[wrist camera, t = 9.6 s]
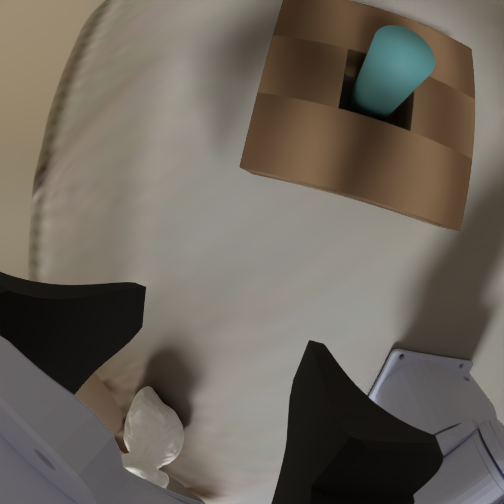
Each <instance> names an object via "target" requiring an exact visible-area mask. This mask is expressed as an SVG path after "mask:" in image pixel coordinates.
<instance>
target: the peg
mask: <svg viewBox="0 0 504 504" xmlns="http://www.w3.org/2000/svg"><path fill="white" fill-rule="evenodd" d="M434 67H435V58H434V54H433V52H432V50H431V48H430V46H429V45H428V44H427V43H426V41H425V40H424V39H423V38H422V37H420V36H419V35H418V34H417V33H415V32H413V31H412V30H410V29H408V28H405V27H402V26H397V25H388V26H384V27H382V28H380V29H379V30H377V32H376V33H375V35H374V38H373V41H372V43H371V46H370V48H369V51H368V53H367V56H366V58H365V61H364V63H363V65H362V68H361V70H360V73H359V75H358V78H357V80H356V82H355V85H354V87H353V90H352V92H351V94H350V97H349V99H348V111H350V112H354V113H357V114H361V115H364V116H367V117H371V118H374V119H377V120H380V121H384V120H385V119H386V118H387V117H388V116H389V115H390V114H391V113H392V112H393V111H394V110H395V109H396V108H397V107H398V106H399V105H400V104H401V103H402V102H403V101H404V100H405V99H406V98H407V97H408V96H409V95H410V94H411V93H412V92H413V91H414V90H415V89H416V88H417V87H418V86H419V85H420V84H421V83H422V82H423V81H424V80H425V79H426V78H427V77H428V76H429V75H430V74H431V73H432V72H433V70H434Z"/></svg>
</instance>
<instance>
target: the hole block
mask: <svg viewBox="0 0 504 504" xmlns="http://www.w3.org/2000/svg"><path fill="white" fill-rule="evenodd" d="M388 25H397V26H402V27H405V28H408V29H410V30H412V31H413V32H415V33H417V34H418V35H419V36H420V37H422V38H423V39H424V40H425V41H426V43H427V44H428V45H429V46H430V48H431V50H432V52H433V54H434V58H435V67H434V70H433V72H432V73H431V74H430V75H429V76H428V77H427V78H426V79H425V80H424V81H423V82H422V83H421V84H420V85H419V86H418V87H417V88H416V89H415V90H414V91H413V92H412V93H411V94H410V95H409V96H408V97H407V98H406V99H405V100H404V101H403V102H402V103H401V104H400V105H399V106H398V107H397V110H396V118H395V125H392V124H389V123H386V122H383V121H380V120H377V119H374V118H371V117H367V116H364V115H361V114H357V113H354V112H350V111H347V110H343V109H339V108H338V107H339V101H340V96H341V90H342V84H343V78H344V75H347V76H351V77H355V78H358V75H359V73H360V70H361V68H362V65H363V63H364V61H365V58H366V56H367V53H368V51H369V48H370V46H371V43H372V41H373V38H374V35H375V33H376V32H377V30H379V29H380V28H382V27H384V26H388ZM474 127H475V86H474V69H473V58H472V50H471V48H469V47H467V46H465V45H464V44H462V43H460V42H458V41H456V40H454V39H452V38H450V37H448V36H446V35H444V34H442V33H440V32H438V31H436V30H434V29H431V28H429V27H427V26H425V25H422V24H420V23H417V22H415V21H412V20H410V19H407V18H405V17H402V16H399V15H396V14H393V13H390V12H387V11H384V10H381V9H378V8H374V7H371V6H367V5H364V4H360V3H356V2H352V1H348V0H283V3H282V6H281V10H280V13H279V17H278V20H277V23H276V27H275V30H274V34H273V37H272V41H271V45H270V48H269V52H268V56H267V59H266V63H265V67H264V70H263V74H262V78H261V82H260V86H259V89H258V93H257V97H256V101H255V105H254V109H253V113H252V117H251V121H250V125H249V129H248V133H247V137H246V142H245V146H244V150H243V154H242V158H241V163H240V168H242V169H244V170H246V171H248V172H250V173H252V174H255V175H260V176H265V177H269V178H274V179H278V180H282V181H286V182H291V183H295V184H299V185H303V186H307V187H311V188H315V189H319V190H322V191H326V192H330V193H334V194H337V195H341V196H344V197H348V198H351V199H355V200H358V201H362V202H365V203H368V204H372V205H375V206H378V207H381V208H385V209H388V210H391V211H394V212H397V213H400V214H403V215H406V216H409V217H412V218H415V219H418V220H420V221H423V222H426V223H429V224H432V225H435V226H439V227H444V228H448V229H453V230H457V231H460V228H461V224H462V219H463V214H464V209H465V204H466V199H467V193H468V187H469V180H470V173H471V165H472V156H473V144H474Z"/></svg>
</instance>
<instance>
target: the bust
mask: <svg viewBox="0 0 504 504" xmlns="http://www.w3.org/2000/svg"><path fill="white" fill-rule="evenodd" d="M124 441H125V445H126V447H127V449H128V451H129V453H127V454H121V457H122V463H123V467H124V468H125V469H127V470H128V471H130V472H131V473H133V474H135V475H137V476H139V477H141V478H143V479H145V480H147V481H149V482H152V483H154V484H156V485H158V486H160V487H163V488H165V489H166V487H167V485H168V483H169V478H168V475H167V474H166V473H163V472H161V471H160V470H159V468H160V467H162V466H163V465H166V464H169V463H170V462H172V461H173V460H174V459H175V458H177V456H178V454H179V453H180V451H181V449H182V447H183V441H184V431H183V425H182V423H181V421H180V419H179V418H178V416H177V414H176V412H175V411H174V410H173V409H172V408H170V407H169V406H167V405H165V404H164V403H163V402H162V401H161V400H160V398H159V396H158V395H157V394H156V392H155V391H154V389H153V388H152V387H149V386H146V387H144V388H142V389H141V390H140V391H139V392H138V393H137V394H136V395H135V397H134V400H133V402H132V404H131V407H130V410H129V412H128V414H127V418H126V421H125V432H124Z"/></svg>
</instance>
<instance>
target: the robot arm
mask: <svg viewBox="0 0 504 504" xmlns="http://www.w3.org/2000/svg"><path fill="white" fill-rule="evenodd" d="M145 292H146V287H145V286H142V285H139V284H137V283H132V282H121V283H107V284H92V285H57V284H47V283H41V282H34V281H29V280H25V279H21V278H17V277H13V276H10V275H7V274H5V273H2V272H0V504H205V503H201V502H199V501H196V500H193V499H190V498H187V497H185V496H182V495H180V494H177V493H175V492H172V491H170V490H167V489H165V488H163V487H160V486H158V485H156V484H154V483H152V482H149V481H147V480H145V479H143V478H141V477H139V476H137V475H135V474H133V473H131V472H130V471H128V470H127V469H125V468H124V467H123V463H122V457H121V453H120V450H119V447H118V445H117V443H116V441H115V439H114V437H113V435H112V433H111V431H110V430H109V429H108V428H107V427H106V426H105V424H104V423H103V422H102V421H101V420H100V418H99V417H98V416H97V415H96V413H95V412H94V411H92V410H91V409H90V408H89V407H88V406H86V405H85V404H84V403H83V402H82V401H81V400H79V399H78V398H77V397H76V396H75V393H76V392H77V391H78V390H79V388H80V387H81V386H82V385H83V384H84V383H85V381H86V380H87V379H88V378H89V377H90V376H91V375H92V374H93V373H94V372H95V371H96V370H97V369H98V368H99V367H100V366H101V365H102V364H104V363H105V362H106V361H107V360H108V359H110V358H111V357H112V356H113V355H114V354H116V353H117V352H118V351H119V350H120V349H122V348H123V347H124V346H125V345H126V344H127V343H129V342H130V341H131V340H132V339H133V337H134V336H135V335H136V334H137V333H138V331H139V330H140V329H141V328H142V323H143V312H144V302H145ZM401 354H403V356H402V357H399V356H400V355H401ZM460 365H461V366H460ZM471 367H472V362H471V361H469V360H462V359H455V358H449V357H442V356H436V355H430V354H424V353H418V352H413V351H407V350H402V349H394V350H393V351H392V352H391V353H390V355H389V357H388V359H387V361H386V363H385V366H384V368H383V370H382V371H381V373H380V375H379V377H378V379H377V381H376V383H375V385H374V387H373V389H372V390H371V392H370V394H369V396H367V395H366V394H365V393H363V392H362V391H361V390H360V389H359V388H358V387H357V386H356V385H355V384H354V382H353V381H352V380H351V379H350V378H349V377H348V376H347V374H346V373H345V372H344V371H343V369H342V368H341V367H340V365H339V364H338V363H337V361H336V360H335V358H334V357H333V356H332V354H331V353H330V351H329V350H328V349H327V347H326V346H325V345H324V344H322V343H319V342H315V341H311V340H309V342H308V345H307V347H306V350H305V352H304V355H303V357H302V360H301V362H300V365H299V367H298V370H297V372H296V374H295V377H294V379H293V384H292V389H291V394H290V400H289V414H288V429H287V442H286V449H285V454H284V458H283V463H282V467H281V471H280V475H279V479H278V483H277V487H276V490H275V494H274V497H273V500H272V504H501V503H502V502H503V503H502V504H504V426H503V424H502V423H501V422H500V421H499V420H498V419H497V418H496V411H495V408H494V406H493V404H492V403H491V401H490V400H489V399H488V397H487V396H486V395H485V393H484V392H483V391H482V389H481V388H480V387H479V385H478V384H477V383H476V381H475V380H474V379H473V377H472V376H471V375H470V374H469V371H470V369H471Z"/></svg>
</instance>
